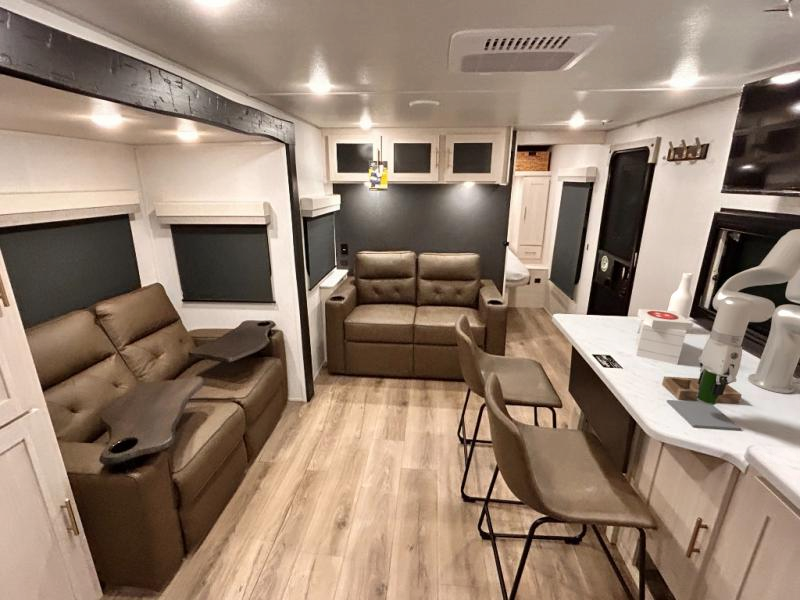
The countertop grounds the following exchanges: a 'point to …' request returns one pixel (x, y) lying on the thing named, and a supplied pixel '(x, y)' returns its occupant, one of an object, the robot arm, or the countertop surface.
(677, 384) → the can holder
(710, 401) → the beer can
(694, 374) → the countertop surface
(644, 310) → the pizza boxes
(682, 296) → the alcohol
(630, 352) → the countertop surface
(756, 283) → the robot arm
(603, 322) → the countertop surface
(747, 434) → the countertop surface
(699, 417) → the rubber mat
